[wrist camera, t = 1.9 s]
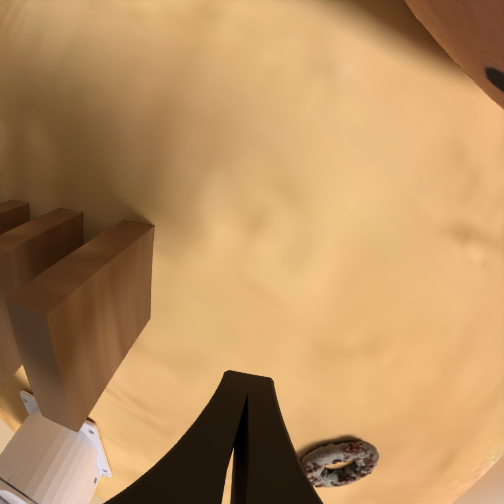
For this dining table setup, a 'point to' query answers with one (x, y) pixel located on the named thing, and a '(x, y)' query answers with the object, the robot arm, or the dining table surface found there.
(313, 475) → the donut
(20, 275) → the domino
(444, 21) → the ceramic pitcher
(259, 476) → the robot arm
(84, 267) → the domino
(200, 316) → the dining table surface
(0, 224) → the domino
